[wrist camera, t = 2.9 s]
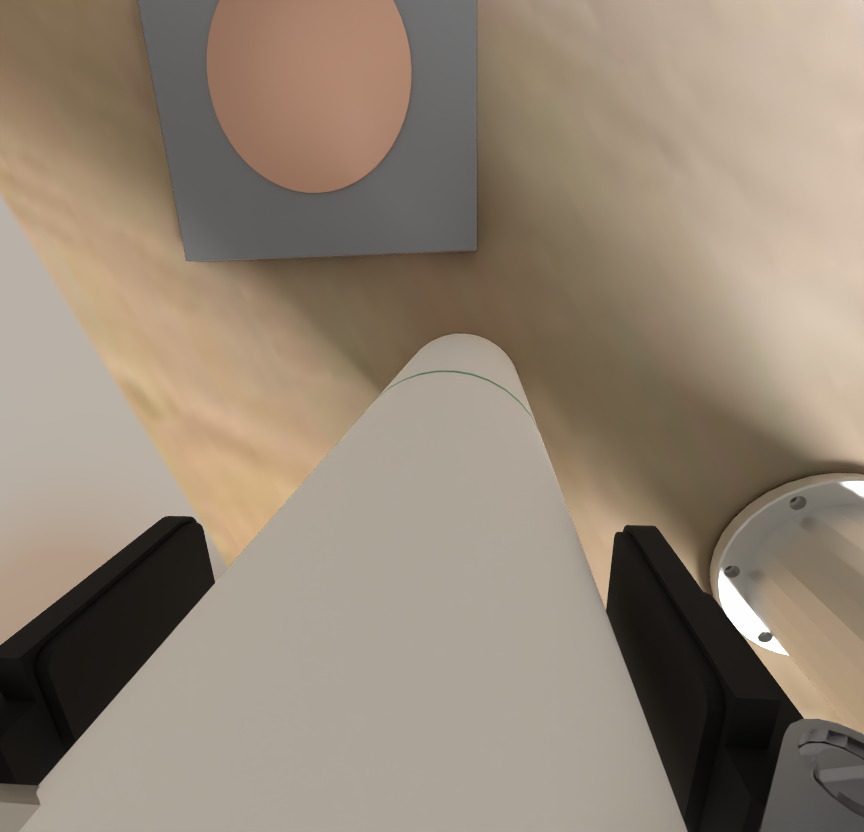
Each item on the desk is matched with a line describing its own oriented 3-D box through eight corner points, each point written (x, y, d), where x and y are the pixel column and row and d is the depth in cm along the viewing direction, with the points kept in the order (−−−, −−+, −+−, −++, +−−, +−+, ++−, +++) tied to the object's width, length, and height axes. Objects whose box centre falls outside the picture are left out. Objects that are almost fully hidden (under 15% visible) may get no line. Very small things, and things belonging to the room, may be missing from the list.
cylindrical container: (399, 441, 28) (-78, 1385, 4) (405, 328, 26) (-548, 953, 2) (512, 453, 27) (717, 1637, 4) (528, 338, 25) (1358, 1425, 1)
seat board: (476, -138, 19) (476, -179, 17) (476, 251, 24) (476, 249, 22) (141, -92, 21) (111, -124, 19) (203, 262, 26) (183, 260, 24)
